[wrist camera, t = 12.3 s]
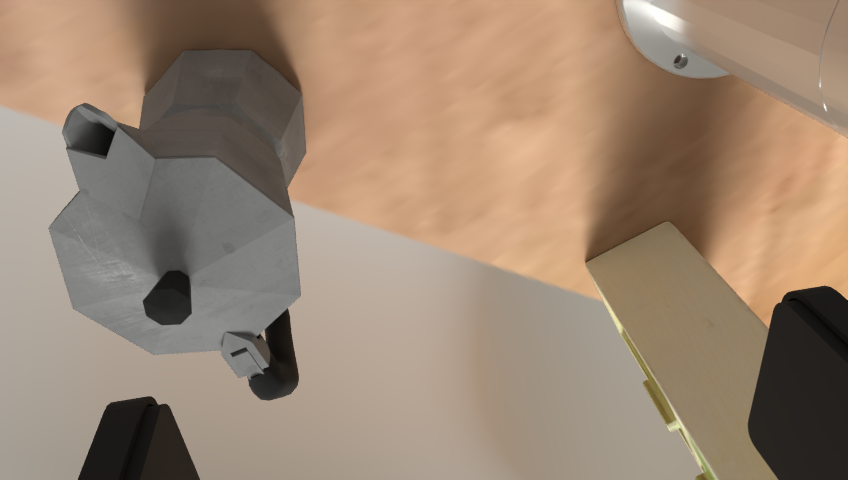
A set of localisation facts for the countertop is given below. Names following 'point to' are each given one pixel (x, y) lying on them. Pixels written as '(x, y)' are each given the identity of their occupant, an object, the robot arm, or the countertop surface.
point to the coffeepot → (191, 216)
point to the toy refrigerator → (688, 346)
